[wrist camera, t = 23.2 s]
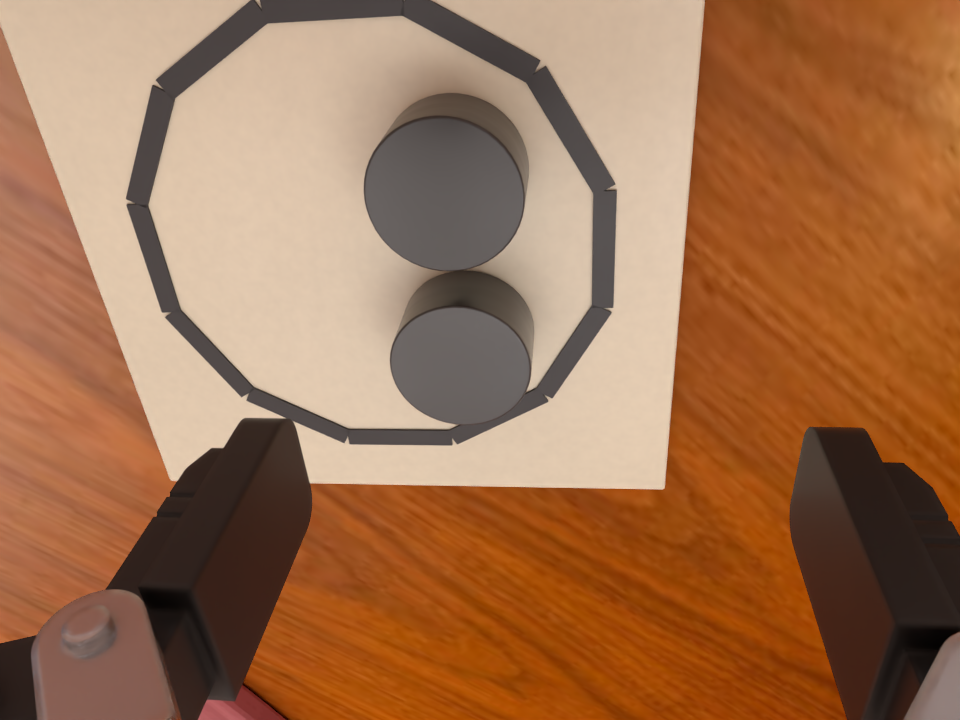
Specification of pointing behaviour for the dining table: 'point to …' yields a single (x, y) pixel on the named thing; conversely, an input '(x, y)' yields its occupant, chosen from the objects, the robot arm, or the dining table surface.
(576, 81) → the board
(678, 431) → the dining table surface
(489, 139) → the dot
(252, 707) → the popsicle
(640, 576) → the dining table surface
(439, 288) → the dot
